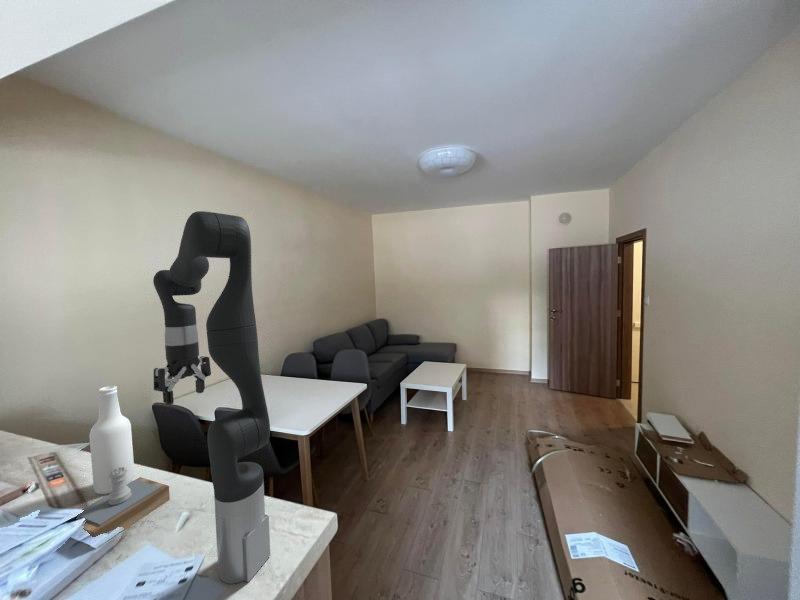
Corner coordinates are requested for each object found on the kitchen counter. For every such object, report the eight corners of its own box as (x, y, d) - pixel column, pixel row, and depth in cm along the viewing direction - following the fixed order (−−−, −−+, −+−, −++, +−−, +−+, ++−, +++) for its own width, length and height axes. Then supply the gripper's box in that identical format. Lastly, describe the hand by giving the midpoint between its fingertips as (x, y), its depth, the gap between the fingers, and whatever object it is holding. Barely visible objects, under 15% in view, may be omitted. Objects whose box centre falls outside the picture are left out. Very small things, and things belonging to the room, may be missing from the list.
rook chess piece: (128, 491, 79) (126, 462, 79) (134, 497, 77) (132, 468, 76) (105, 501, 75) (103, 472, 75) (111, 508, 73) (109, 478, 73)
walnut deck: (169, 499, 82) (168, 485, 82) (95, 549, 67) (94, 532, 67) (141, 490, 86) (140, 477, 86) (64, 535, 71) (63, 519, 70)
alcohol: (99, 500, 82) (90, 395, 80) (90, 488, 87) (81, 389, 85) (139, 481, 90) (132, 385, 88) (129, 472, 94) (122, 380, 92)
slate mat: (160, 488, 81) (160, 486, 81) (100, 526, 68) (99, 524, 68) (136, 481, 84) (136, 479, 84) (74, 515, 72) (74, 513, 72)
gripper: (164, 348, 74) (168, 410, 75) (215, 337, 87) (218, 390, 89) (144, 346, 76) (148, 406, 77) (196, 336, 90) (199, 387, 91)
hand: (185, 398), depth 83 cm, fingers open, 8 cm apart
